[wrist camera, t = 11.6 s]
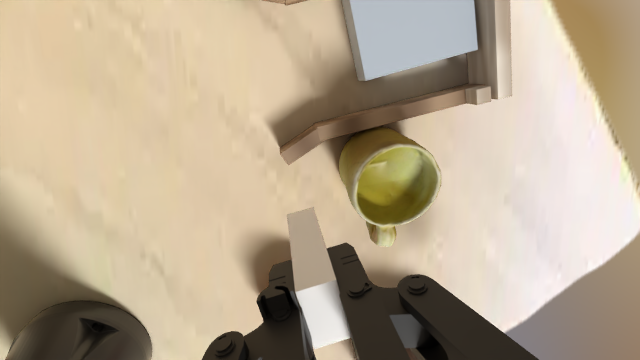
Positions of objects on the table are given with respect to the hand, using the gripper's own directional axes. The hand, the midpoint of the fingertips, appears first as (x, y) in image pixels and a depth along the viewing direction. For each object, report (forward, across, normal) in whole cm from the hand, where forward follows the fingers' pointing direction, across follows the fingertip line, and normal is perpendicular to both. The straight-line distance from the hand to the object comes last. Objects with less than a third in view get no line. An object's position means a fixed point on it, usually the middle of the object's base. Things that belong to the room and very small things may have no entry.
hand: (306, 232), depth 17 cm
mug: (+20, +9, -6) cm, 22 cm away
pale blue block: (+20, +15, +10) cm, 27 cm away
